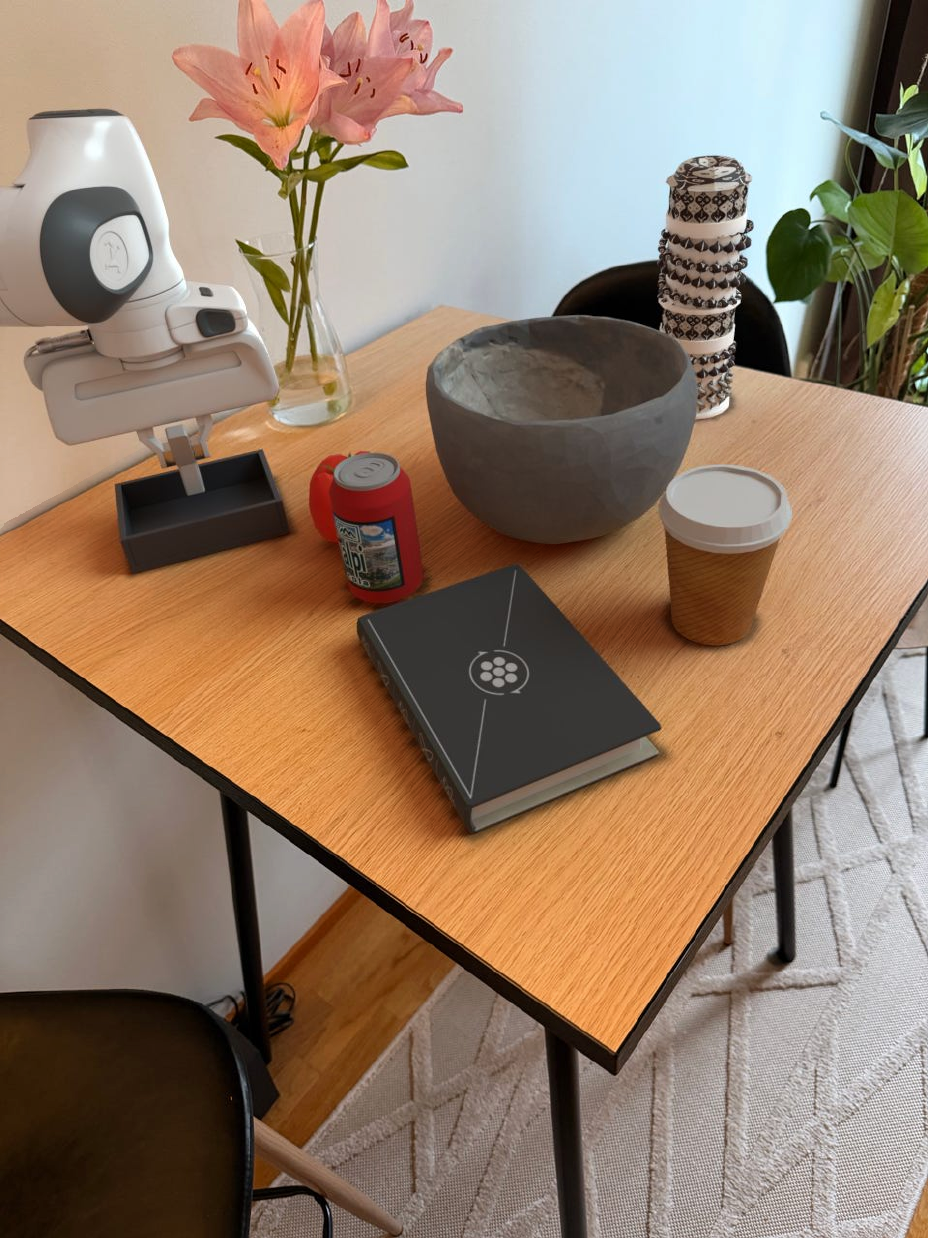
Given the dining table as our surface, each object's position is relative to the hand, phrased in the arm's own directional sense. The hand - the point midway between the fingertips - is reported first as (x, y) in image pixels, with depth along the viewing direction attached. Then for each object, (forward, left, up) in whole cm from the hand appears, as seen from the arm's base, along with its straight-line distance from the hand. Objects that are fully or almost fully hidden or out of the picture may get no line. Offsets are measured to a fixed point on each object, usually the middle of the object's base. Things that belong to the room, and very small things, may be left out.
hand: (186, 460), depth 87 cm
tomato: (+14, -9, -8) cm, 18 cm away
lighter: (0, 0, -4) cm, 4 cm away
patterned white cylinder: (+55, 0, -8) cm, 56 cm away
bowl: (+33, -13, -8) cm, 36 cm away
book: (+18, -35, -8) cm, 40 cm away
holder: (0, 0, -7) cm, 7 cm away
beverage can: (+14, -18, -8) cm, 24 cm away
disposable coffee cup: (+37, -34, -8) cm, 51 cm away
